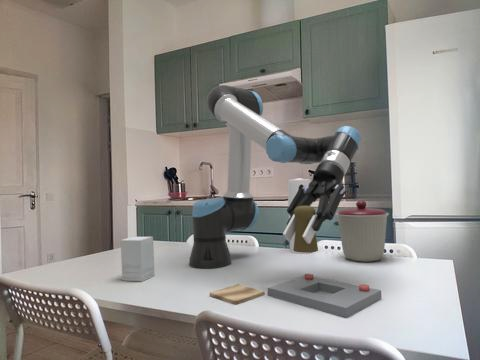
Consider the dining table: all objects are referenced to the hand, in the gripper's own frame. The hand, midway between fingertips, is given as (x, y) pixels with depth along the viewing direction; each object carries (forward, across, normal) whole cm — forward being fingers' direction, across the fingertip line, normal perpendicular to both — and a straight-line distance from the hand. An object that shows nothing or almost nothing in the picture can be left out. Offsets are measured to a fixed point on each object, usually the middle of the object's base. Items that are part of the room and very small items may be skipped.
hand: (296, 238), depth 84 cm
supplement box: (+22, -50, 0) cm, 55 cm away
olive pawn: (0, 0, +5) cm, 5 cm away
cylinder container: (-24, -35, +46) cm, 62 cm away
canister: (-25, -9, +47) cm, 54 cm away
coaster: (+15, -14, +6) cm, 22 cm away
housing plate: (+6, +3, +14) cm, 16 cm away
